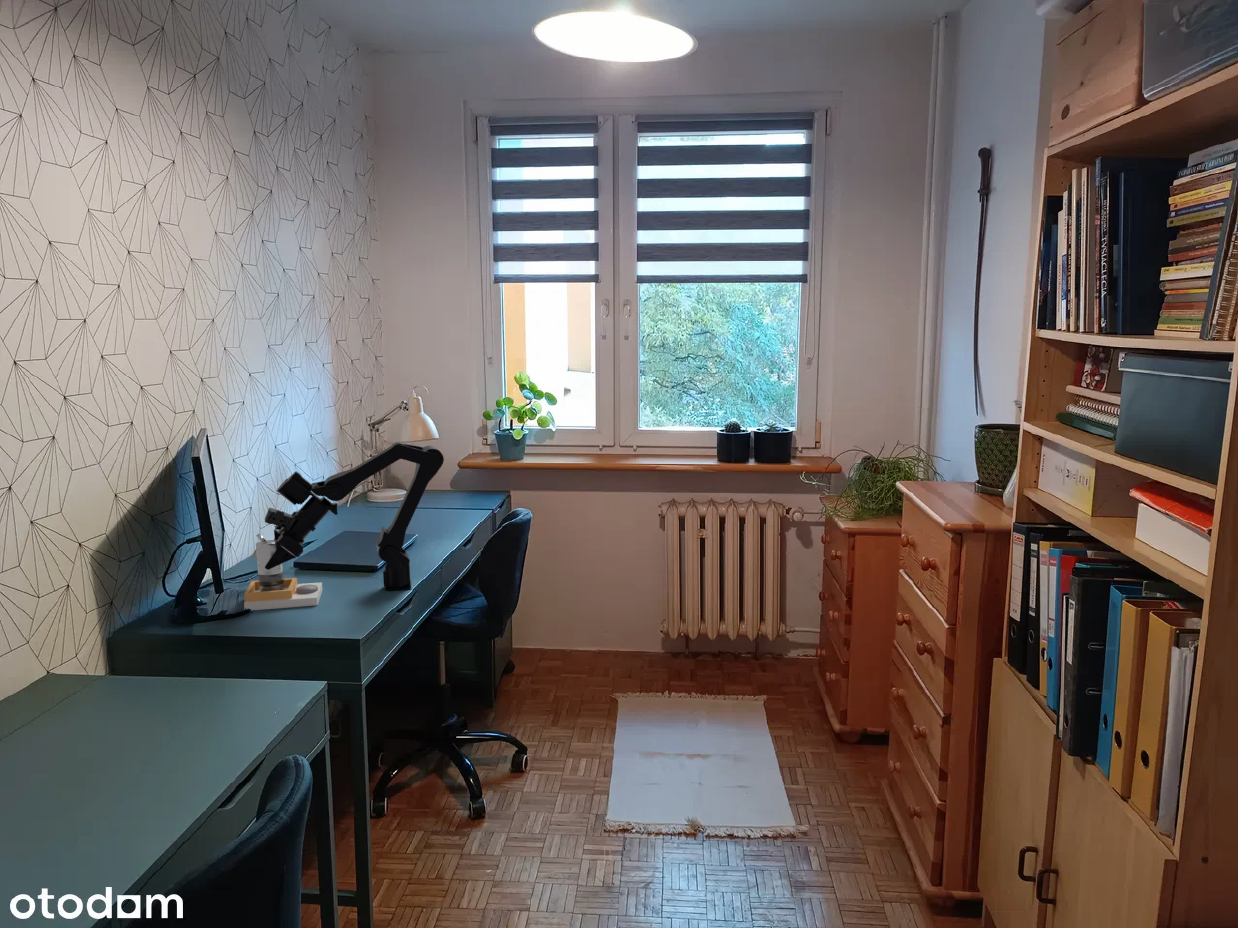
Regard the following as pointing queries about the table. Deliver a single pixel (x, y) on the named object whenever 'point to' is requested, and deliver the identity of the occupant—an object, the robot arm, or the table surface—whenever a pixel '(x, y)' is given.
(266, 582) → the spout can
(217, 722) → the table surface
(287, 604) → the white orange holder tray
